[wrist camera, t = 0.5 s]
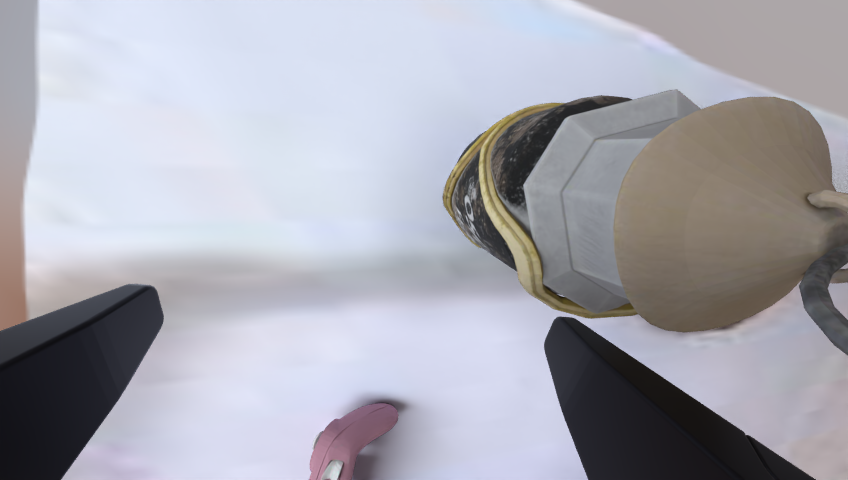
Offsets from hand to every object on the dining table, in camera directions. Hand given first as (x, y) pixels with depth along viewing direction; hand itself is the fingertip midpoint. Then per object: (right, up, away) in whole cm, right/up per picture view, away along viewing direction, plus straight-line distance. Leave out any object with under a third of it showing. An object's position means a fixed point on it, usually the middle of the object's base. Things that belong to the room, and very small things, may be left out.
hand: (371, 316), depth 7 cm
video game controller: (-5, -15, +19) cm, 25 cm away
